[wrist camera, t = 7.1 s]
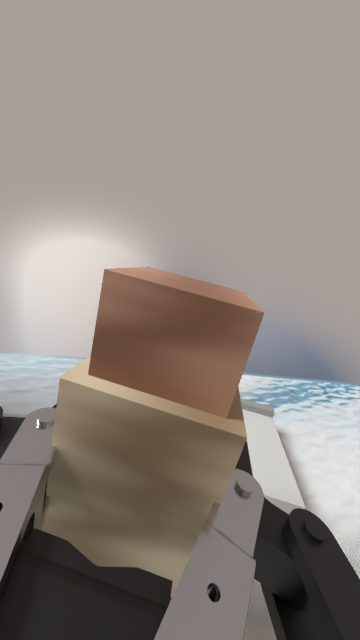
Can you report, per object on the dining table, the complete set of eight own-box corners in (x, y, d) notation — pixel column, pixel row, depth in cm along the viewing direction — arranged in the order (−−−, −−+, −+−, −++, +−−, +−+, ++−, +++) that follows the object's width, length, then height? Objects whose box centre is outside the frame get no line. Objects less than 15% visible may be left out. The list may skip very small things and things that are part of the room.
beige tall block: (32, 608, 9) (74, 263, 5) (97, 485, 14) (141, 264, 10) (158, 660, 8) (293, 323, 5) (179, 515, 13) (254, 294, 10)
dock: (127, 480, 20) (135, 444, 19) (160, 401, 31) (166, 376, 30) (292, 535, 19) (309, 500, 18) (262, 432, 30) (272, 407, 29)
